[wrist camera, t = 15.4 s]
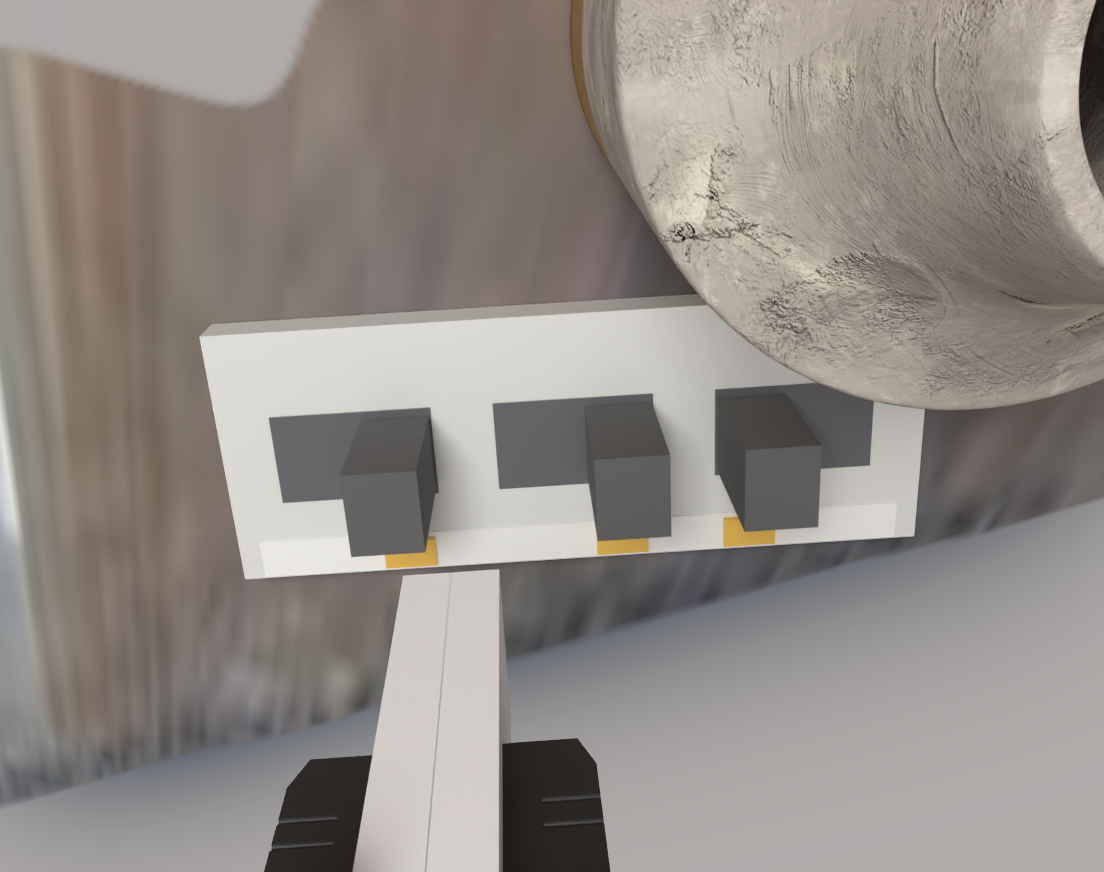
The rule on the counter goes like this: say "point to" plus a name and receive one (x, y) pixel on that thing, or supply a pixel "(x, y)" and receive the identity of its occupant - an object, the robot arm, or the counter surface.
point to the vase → (871, 181)
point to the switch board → (523, 429)
